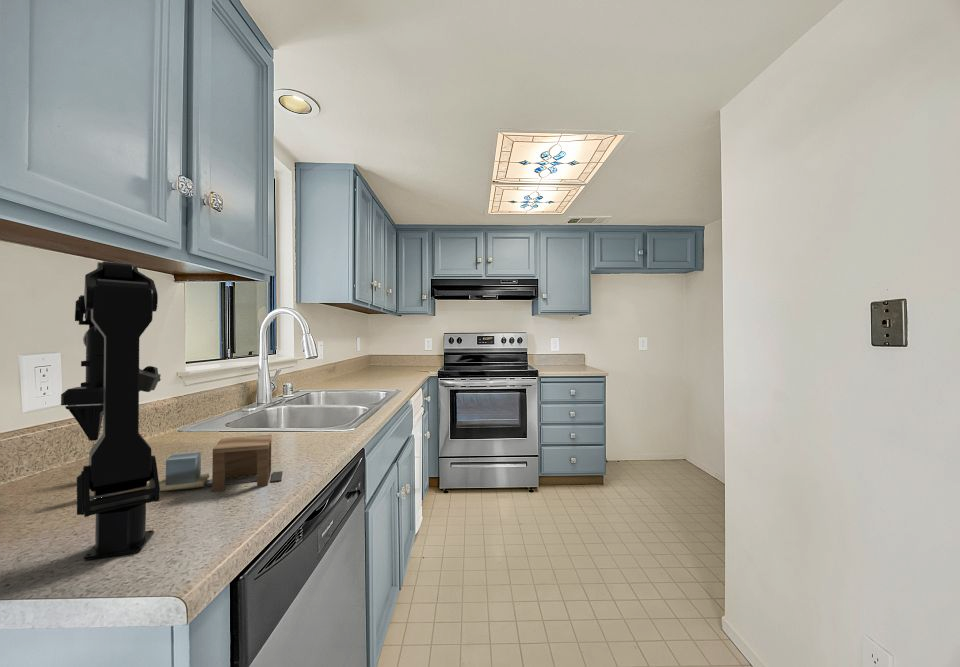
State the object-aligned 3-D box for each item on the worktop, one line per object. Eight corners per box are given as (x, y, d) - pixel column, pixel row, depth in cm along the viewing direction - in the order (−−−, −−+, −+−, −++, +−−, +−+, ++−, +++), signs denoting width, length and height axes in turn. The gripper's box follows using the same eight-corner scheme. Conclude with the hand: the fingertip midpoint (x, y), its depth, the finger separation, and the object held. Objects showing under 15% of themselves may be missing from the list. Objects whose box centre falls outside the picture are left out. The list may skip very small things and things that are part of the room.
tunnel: (267, 485, 89) (268, 444, 89) (212, 491, 86) (212, 449, 86) (271, 471, 99) (271, 434, 99) (221, 476, 95) (221, 438, 95)
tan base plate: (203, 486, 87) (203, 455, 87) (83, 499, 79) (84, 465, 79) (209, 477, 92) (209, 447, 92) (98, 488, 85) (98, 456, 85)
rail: (269, 479, 93) (269, 477, 93) (81, 500, 81) (81, 496, 81) (269, 476, 95) (269, 473, 95) (87, 495, 83) (87, 492, 83)
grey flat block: (281, 481, 92) (281, 479, 92) (270, 482, 91) (270, 480, 91) (282, 472, 98) (282, 471, 98) (272, 473, 97) (272, 472, 97)
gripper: (139, 357, 78) (138, 442, 78) (169, 352, 95) (168, 422, 95) (59, 357, 73) (58, 448, 73) (106, 353, 91) (105, 426, 90)
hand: (104, 435), depth 83 cm, fingers open, 9 cm apart
